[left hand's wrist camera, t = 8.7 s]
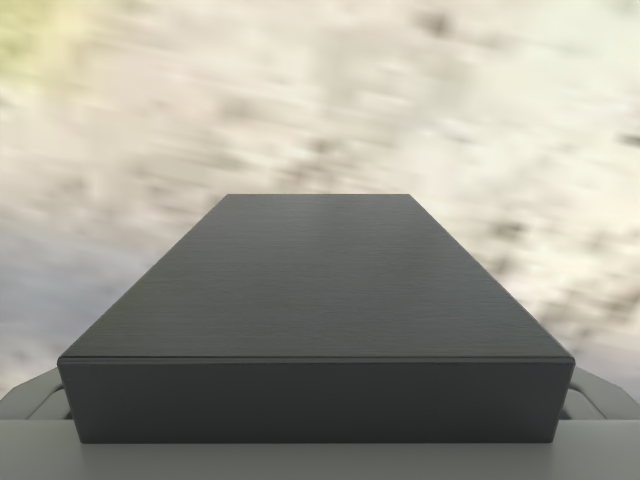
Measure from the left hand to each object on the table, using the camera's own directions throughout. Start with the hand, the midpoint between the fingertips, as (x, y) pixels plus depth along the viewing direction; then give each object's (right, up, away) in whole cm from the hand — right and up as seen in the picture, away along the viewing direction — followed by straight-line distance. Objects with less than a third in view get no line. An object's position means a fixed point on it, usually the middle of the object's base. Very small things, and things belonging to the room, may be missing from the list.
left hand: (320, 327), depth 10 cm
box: (0, -7, +6) cm, 10 cm away
